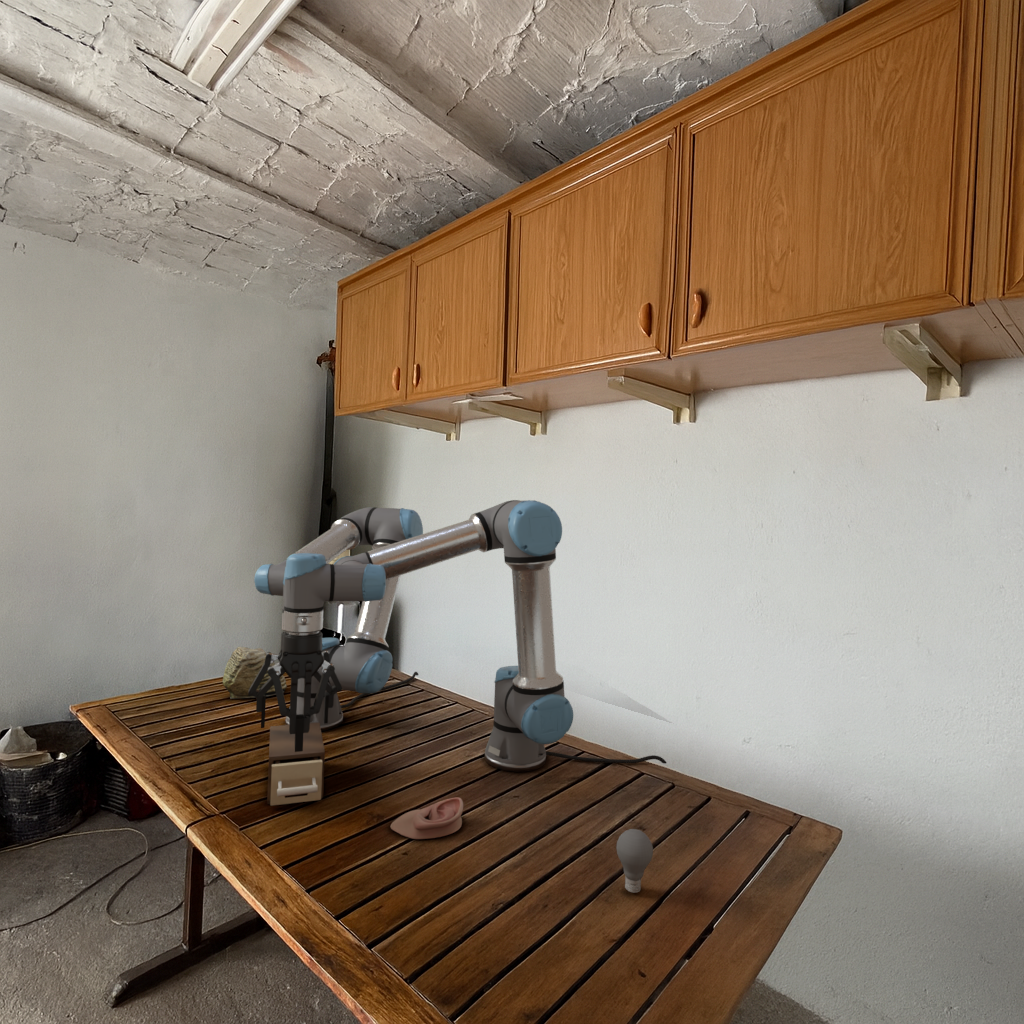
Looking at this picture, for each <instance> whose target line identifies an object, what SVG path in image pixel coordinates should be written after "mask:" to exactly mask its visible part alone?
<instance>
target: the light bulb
mask: <svg viewBox="0 0 1024 1024" xmlns="http://www.w3.org/2000/svg"><path fill="white" fill-rule="evenodd" d="M615 849H616V854H617V857H618V859H619V861H620V863H621V865H622V867H623V873H624V874H623V875H624V876H625V878H624V888H625V890H627V891H628V892H630V893H634V894H635V893H639V892H640V891H641V889H642V887H641V886H642V879H643V877H644V875H645V871H646V868H647V867H648V866H649V864H650V863H651V861H652V859H653V855H654V847H653V843H652V841H651V838H649V836H648V835H647V834H646V833H645V832H643V831H642V830H641V829H636V828H629V829H627V830H625V831H623V832H622V833H621V834H620V835H619V837H618V839H617V841H616V847H615Z"/></svg>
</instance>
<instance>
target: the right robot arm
mask: <svg viewBox="0 0 1024 1024" xmlns="http://www.w3.org/2000/svg"><path fill="white" fill-rule="evenodd" d="M562 537H563V525H562V521H561V518H560V516H559V515H558V513H557V512H556V511H555V509H553V508H552V507H551V506H550V505H548V504H546V503H544V502H541V501H538V500H535V499H534V500H531V499H528V500H519V499H512V500H507V501H504V502H501V503H498V504H496V505H494V506H491V507H489V508H486V509H484V510H481V511H478V512H475V513H472V514H471V515H470V516H469V518H468V519H466V520H464V521H463V520H462V521H461V522H457V523H454V524H451V525H448V526H444V527H441V528H438V529H434V530H431V531H428V532H425V533H423V534H422V535H419V536H415V537H412V538H409V539H406V540H403V541H399V542H396V543H393V544H390V545H387V546H383V547H380V548H377V549H374V550H373V549H371V550H368V551H365V552H362V553H358V554H355V555H345V556H341V557H340V558H338V559H337V560H336V561H334V563H328V564H326V560H325V556H324V555H322V554H312V553H298V554H294V553H292V554H290V555H288V556H287V560H286V571H285V593H284V620H283V630H285V631H286V632H285V633H284V634H283V646H282V656H281V657H280V659H279V660H278V662H276V663H275V665H274V666H269V667H268V675H269V676H270V677H271V679H272V680H273V683H274V688H275V692H276V695H275V697H276V700H277V705H278V709H279V714H280V716H281V717H286V716H287V717H289V719H290V722H289V732H290V734H295V752H300V751H303V733H308V732H309V729H310V717H311V715H313V714H318V713H319V712H320V708H321V705H322V701H323V698H324V694H325V691H326V687H327V684H328V680H329V677H330V676H331V675H332V673H333V672H334V670H335V667H334V664H333V663H328V662H327V661H325V660H324V656H323V655H322V638H323V635H324V633H323V632H322V631H321V630H323V628H324V609H325V608H324V603H325V602H363V601H365V602H368V601H375V600H381V599H382V598H383V597H384V594H385V587H386V580H388V579H391V578H394V577H397V576H400V575H401V576H404V575H407V574H409V573H412V572H415V571H418V570H421V569H423V568H427V567H430V566H433V565H436V564H439V563H443V562H445V561H449V560H451V559H454V558H459V557H461V556H463V555H464V556H465V555H467V554H470V553H473V552H476V551H480V552H481V553H487V552H490V551H493V550H500V549H503V557H504V564H506V566H508V567H509V568H510V570H511V577H512V590H513V591H512V592H513V593H512V594H513V606H514V607H513V608H514V622H515V623H514V625H515V637H516V653H517V665H508V666H507V665H506V666H501V667H499V668H498V669H497V670H496V672H495V679H494V700H493V701H494V703H493V727H492V730H491V733H490V735H489V737H488V741H487V743H486V746H485V749H484V760H485V762H486V764H488V765H489V766H491V767H492V768H495V769H498V770H501V771H505V772H506V771H507V772H513V773H515V772H516V773H523V772H531V771H535V770H538V769H540V768H542V767H543V766H544V765H545V764H546V762H547V756H550V757H555V758H562V759H566V760H572V761H579V762H587V763H588V762H589V763H603V764H604V763H605V764H638V763H643V762H646V761H650V760H651V761H652V760H657V761H659V762H660V763H662V764H667V761H666V759H664V758H663V757H662V756H659V755H653V754H652V755H646V756H643V757H639V758H635V759H633V758H632V759H619V758H617V759H616V758H615V759H614V758H600V757H599V758H598V757H584V756H576V755H570V754H566V753H560V752H553V751H547V750H546V746H545V745H550V744H555V743H556V742H559V741H560V740H561V739H563V738H564V737H565V735H566V734H567V732H569V731H570V729H571V727H572V725H573V721H574V709H573V706H572V703H571V702H570V701H569V699H568V698H567V697H566V696H565V695H566V694H565V682H564V681H565V680H564V676H563V675H562V674H561V673H560V672H559V671H557V663H556V662H557V661H556V660H557V659H556V645H555V630H554V629H555V628H554V615H553V613H554V612H553V599H552V598H553V597H552V583H551V582H552V581H551V566H552V565H553V564H554V563H555V562H556V560H557V551H556V550H557V549H556V548H557V547H558V545H559V544H560V542H561V539H562ZM401 576H400V577H401ZM283 630H282V631H283ZM321 665H322V672H323V674H322V677H321V680H320V684H319V687H318V691H317V694H316V698H315V701H314V705H313V706H312V707H310V706H311V682H312V677H313V676H314V675H315V673H316V672H317V671H318V669H319V668H320V667H321ZM281 667H282V668H283V670H284V671H285V674H286V675H287V676H288V677H289V678H290V693H289V694H290V696H289V697H290V699H289V707H290V708H289V707H287V703H286V698H285V695H284V692H283V690H282V685H281V681H280V677H279V675H280V674H281V670H280V669H281ZM300 678H304V709H303V714H298V715H296V714H297V689H298V679H300Z"/></svg>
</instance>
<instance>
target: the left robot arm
mask: <svg viewBox="0 0 1024 1024" xmlns="http://www.w3.org/2000/svg"><path fill="white" fill-rule="evenodd" d="M422 534H424V527H423V523H422V518H421V516H420V515H419V513H418V512H417V511H416V510H414V509H410V508H409V509H408V508H404V507H401V508H394V507H393V508H392V507H376V506H375V507H374V506H368V507H364V508H359V509H356V510H354V511H352V512H349V513H347V514H345V515H343V516H342V517H340V518H338V519H337V520H336V521H334V522H333V523H332V524H331V526H330V529H328V530H327V531H325V532H323V533H322V534H320V535H319V536H318V537H317V538H315V539H313V540H312V541H310V542H309V543H307V544H306V545H304V546H303V547H301V548H300V549H299V550H296V551H295V552H293V554H298V553H312V554H322V555H324V556H325V560H326V564H331V562H332V561H334V560H335V559H336V558H338V557H339V556H340V555H341V554H343V553H344V552H346V551H351V550H354V549H355V548H357V547H360V546H371V550H374V549H377V548H380V547H383V546H387V545H390V544H393V543H396V542H399V541H403V540H406V539H409V538H412V537H415V536H419V535H422ZM287 558H288V557H287ZM287 558H285V559H283V560H281V561H280V562H279V563H277V564H274V563H270V564H269V563H266V564H262V565H260V566H259V567H258V568H257V570H256V572H255V574H254V581H253V583H254V587H255V589H256V591H257V592H259V594H262V595H263V594H264V595H269V596H277V597H278V596H279V597H282V613H281V631H283V632H281V634H280V650H279V653H272V652H270V651H267V652H265V653H266V657H265V662H264V664H263V666H262V667H261V669H260V671H259V673H258V674H257V676H256V678H255V680H254V681H253V683H252V685H251V687H250V688H249V691H248V695H249V696H254V697H253V698H255V699H256V704H255V705H256V706H255V711H256V713H260V714H261V715H260V728H261V729H265V723H266V702H267V696H266V695H265V693H266V692H267V691H268V690H269V689H270V688H271V687H272V686H273V685H274V683H273V680H272V679H271V677H270V679H269V680H268V681H267V682H266V683H265V684H264V685H263V686H262V687H261V688H260V689H259V690H257V688H258V686H259V684H260V683H261V681H262V679H263V677H264V675H265V674H266V672H267V670H268V667H269V666H270V664H272V663H275V661H276V660H278V661H279V659H280V657H281V656H282V646H283V634H284V633H285V632H286V631H285V630H283V620H284V593H285V571H286V560H287ZM401 576H402V575H400V576H397V577H394V578H391V579H388V580H386V587H385V594H384V597H383V598H382V599H381V600H375V601H368V602H365V601H361V606H360V610H359V614H358V616H357V621H356V625H355V628H354V632H353V633H352V634H350V635H349V636H347V638H346V641H345V645H340V644H341V643H340V642H341V641H340V639H339V638H337V637H322V655H323V656H324V660H325V661H327V662H328V663H333V664H334V667H335V670H334V672H333V673H332V675H331V676H330V677H329V680H328V684H327V687H326V691H325V694H324V698H323V701H322V705H321V708H320V712H319V713H318V714H313V715H311V717H310V723H320V727H321V732H325V731H329V730H332V729H335V728H337V727H339V726H340V725H342V723H343V722H344V714H343V709H345V708H349V707H350V706H352V705H353V704H354V703H355V702H356V701H357V700H359V699H361V698H363V697H365V696H369V695H372V694H376V693H378V692H381V691H385V690H389V689H392V688H396V687H398V686H401V685H404V684H407V683H409V682H410V681H412V680H414V679H415V677H416V676H419V672H418V671H414V672H413V674H412V675H411V677H409V678H406V679H405V680H402V681H400V682H396V683H392V684H390V685H389V684H388V685H386V684H387V683H388V681H389V679H390V676H391V674H392V670H393V665H394V664H393V655H392V653H391V652H390V651H389V648H390V647H389V644H388V643H387V641H386V636H387V633H388V628H389V624H390V621H391V616H392V612H393V607H394V604H395V599H396V595H397V591H398V587H399V583H400V579H401ZM280 670H281V674H280V675H279V677H281V676H282V675H283V676H284V674H286V672H285V671H284V670H283V668H282V667H281V669H280ZM322 674H323V672H322V665H321V667H320V668H319V669H318V671H317V672H316V673H315V675H314V676H313V677H312V682H311V706H310V707H312V706H313V705H314V701H315V698H316V694H317V691H318V687H319V684H320V680H321V677H322ZM385 685H386V686H385ZM341 691H347V692H348V691H349V692H354V693H357V694H358V693H359V694H358V695H357V696H355V697H354V698H352V700H351V701H349V702H348V703H346V704H345V703H344V704H341V702H340V699H339V695H338V692H341ZM288 708H290V706H289V707H288ZM303 709H304V678H300V679H298V689H297V714H296V715H298V714H303ZM289 722H290V719H289V717H287V716H285V725H289Z"/></svg>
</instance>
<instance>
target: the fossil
mask: <svg viewBox="0 0 1024 1024" xmlns="http://www.w3.org/2000/svg"><path fill="white" fill-rule="evenodd" d="M266 653H267V652H265V650H264V649H263V648H260V647H258V648H251V647H247V646H246V647H245V646H238V647H237V648H236V649H235V650H233V651H232V653H231V656H230V657H229V659H228V660H227V663H226V666H225V668H224V671H223V675H222V676H223V677H222V685H223V687H224V688H225V690H226V691H228V693H229V698H230V699H250V698H255V697H254V696H249V695H248V691H249V688H250V687H251V685H252V683H253V681H254V680H255V678H256V676H257V674H258V673H259V671H260V669H261V667H262V666H263V664H264V662H265V657H266ZM275 664H276V663H275V662H274V663H272V664H270V666H274V665H275ZM269 679H270V676H269V675H268V670H267V672H266V674H265V675H264V677H263V679H262V681H261V683H260V684H259V686H258V688H257V690H259V689H260V688H261V687H262V686H263V685H264V684H265V683H266V682H267V681H268V680H269ZM280 681H281V685H282V690H283V693H285V691H286V689H287V687H288V686H287V680H286V678H285V676H284V674H283V675H282V676H281V677H280ZM265 695H266V697H271V696H276V692H275V688H274V685H273V686H272V687H271V688H270V689H269V690H268V691H267V692H266V693H265Z"/></svg>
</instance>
